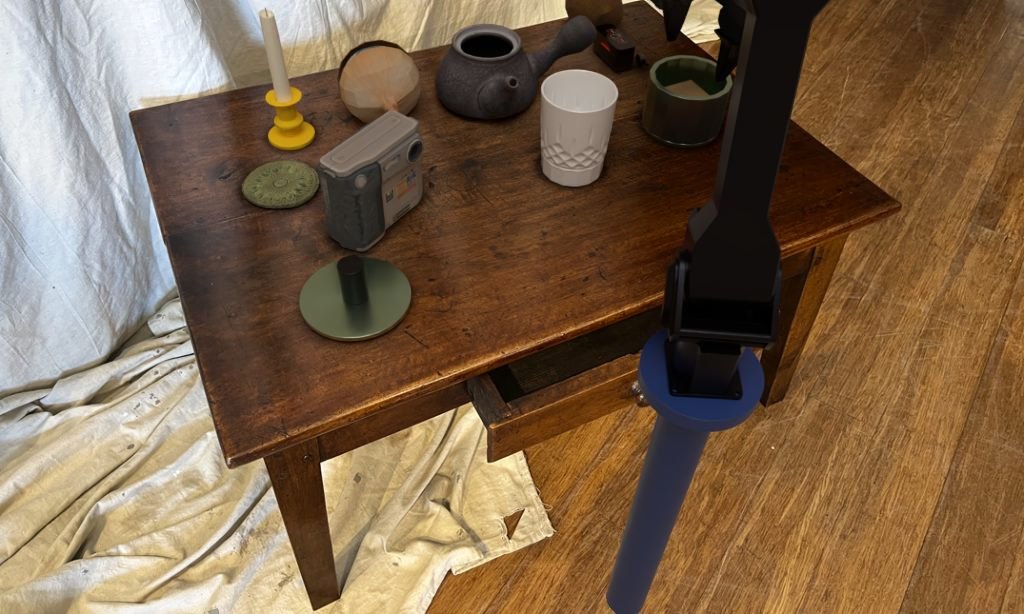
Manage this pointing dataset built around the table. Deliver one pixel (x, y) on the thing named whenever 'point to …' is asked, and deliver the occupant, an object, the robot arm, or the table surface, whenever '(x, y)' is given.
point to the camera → (371, 180)
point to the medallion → (281, 184)
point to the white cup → (576, 125)
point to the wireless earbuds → (616, 48)
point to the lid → (355, 298)
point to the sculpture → (378, 80)
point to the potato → (596, 11)
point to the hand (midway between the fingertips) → (694, 60)
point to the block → (687, 89)
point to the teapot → (501, 67)
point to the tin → (684, 102)
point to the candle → (283, 93)
